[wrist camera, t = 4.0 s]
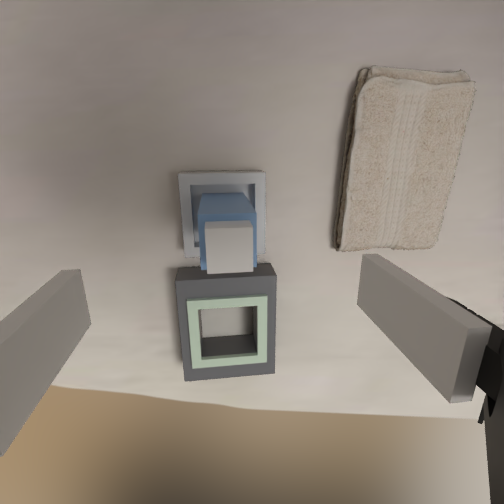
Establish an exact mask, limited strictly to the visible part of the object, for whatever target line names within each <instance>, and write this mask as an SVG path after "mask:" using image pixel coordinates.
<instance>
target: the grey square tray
mask: <svg viewBox="0 0 504 504" xmlns="http://www.w3.org/2000/svg"><path fill="white" fill-rule="evenodd" d="M178 182H179V194H180V206H181V218H182V230H183V242H184V254H185V258H188V257H200V247H199V232H198V216H197V214H198V210H199V205H200V201H201V197H202V193H240V192H243V193H244V194H245V196H246V197H247V199H248V200H249V202H250V203H251V205H252V206H253V208H254V209H255V211H256V212H257V254H265V220H266V172H264V171H262V170H258V171H200V172H180V173H178Z"/></svg>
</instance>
